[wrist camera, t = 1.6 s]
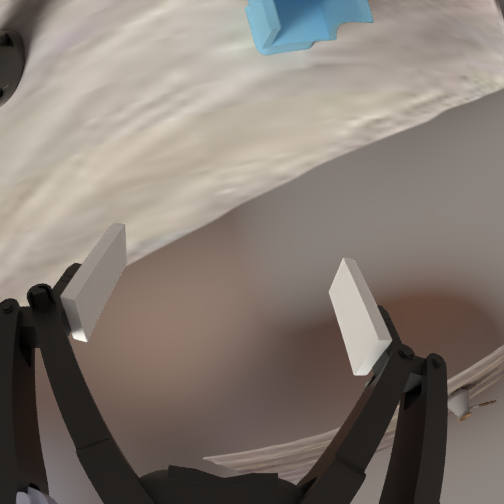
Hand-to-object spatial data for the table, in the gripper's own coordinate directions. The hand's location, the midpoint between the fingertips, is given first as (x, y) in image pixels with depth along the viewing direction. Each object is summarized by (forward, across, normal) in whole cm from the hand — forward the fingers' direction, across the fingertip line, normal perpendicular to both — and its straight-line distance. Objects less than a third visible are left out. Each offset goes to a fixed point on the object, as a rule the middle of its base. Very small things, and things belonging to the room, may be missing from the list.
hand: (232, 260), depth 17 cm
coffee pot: (+27, +104, -66) cm, 127 cm away
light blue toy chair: (+27, +2, +19) cm, 33 cm away
